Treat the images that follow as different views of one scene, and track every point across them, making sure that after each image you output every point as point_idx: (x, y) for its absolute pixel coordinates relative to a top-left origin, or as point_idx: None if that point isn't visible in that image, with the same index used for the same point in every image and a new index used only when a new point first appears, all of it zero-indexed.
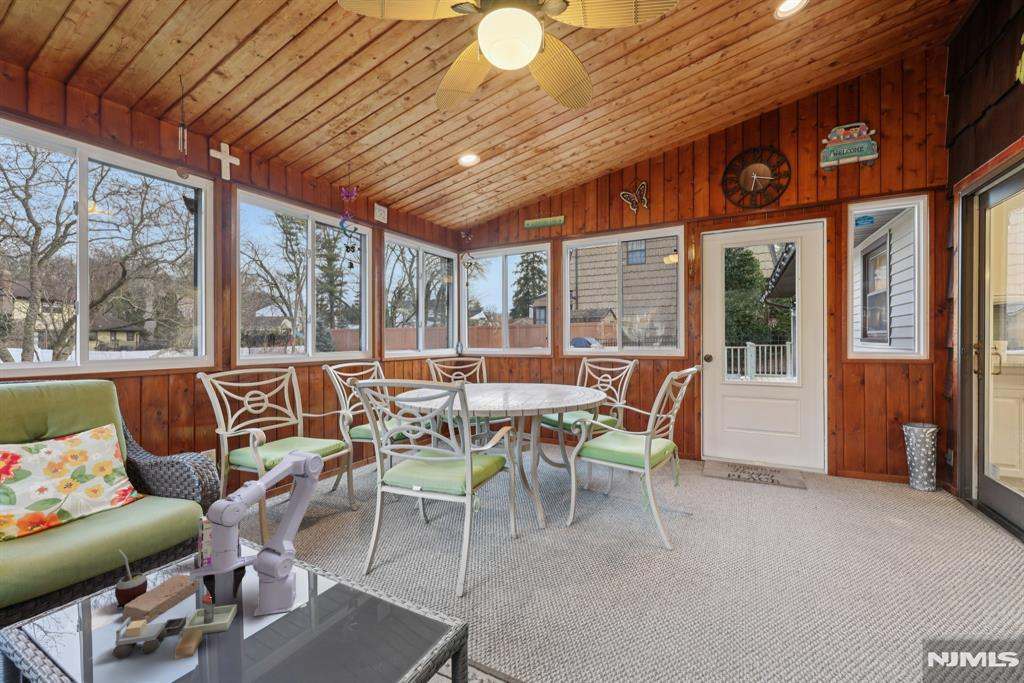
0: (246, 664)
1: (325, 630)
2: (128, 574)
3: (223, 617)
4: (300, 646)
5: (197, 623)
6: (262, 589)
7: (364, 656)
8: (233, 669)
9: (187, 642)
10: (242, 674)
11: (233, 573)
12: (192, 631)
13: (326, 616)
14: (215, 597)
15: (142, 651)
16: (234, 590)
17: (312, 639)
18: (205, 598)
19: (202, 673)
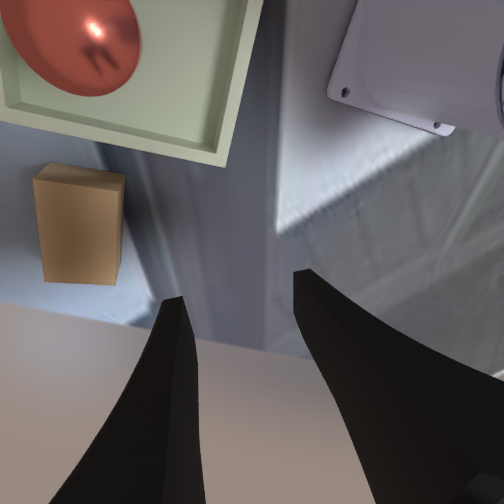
0: (274, 328)
1: (455, 271)
2: None
3: (192, 35)
4: (388, 306)
5: None
6: (450, 102)
7: (454, 354)
8: (246, 335)
9: (83, 262)
10: (264, 351)
11: (400, 417)
12: (70, 186)
13: (494, 215)
14: (141, 43)
15: None
16: (322, 371)
17: (418, 292)
18: (52, 66)
19: None
